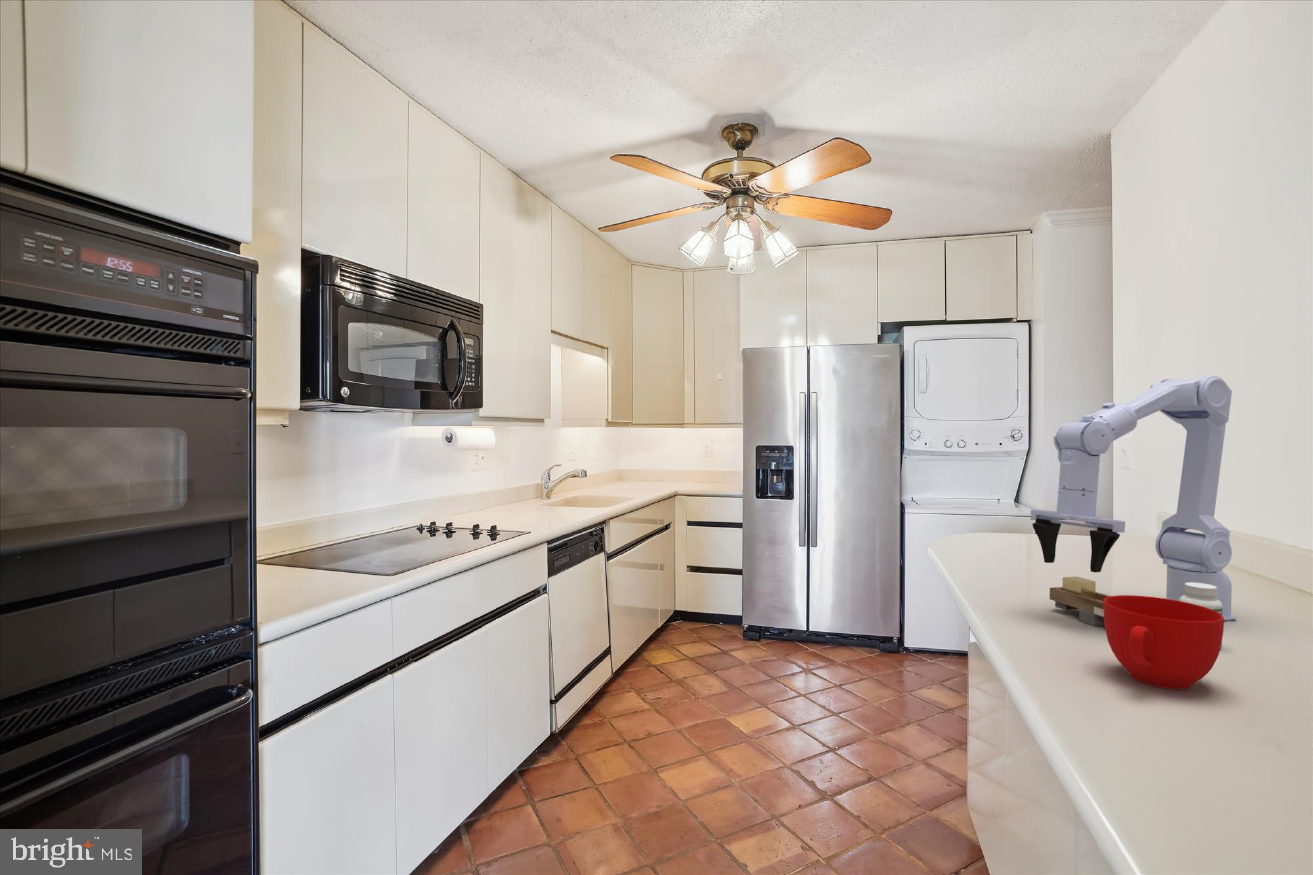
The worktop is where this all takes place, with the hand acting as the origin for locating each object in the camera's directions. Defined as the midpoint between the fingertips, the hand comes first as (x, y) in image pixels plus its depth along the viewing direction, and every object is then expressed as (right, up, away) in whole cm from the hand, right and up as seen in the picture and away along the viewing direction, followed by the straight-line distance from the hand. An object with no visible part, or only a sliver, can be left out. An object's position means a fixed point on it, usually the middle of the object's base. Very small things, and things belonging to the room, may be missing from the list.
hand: (1071, 567), depth 112 cm
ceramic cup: (-6, -11, -26) cm, 28 cm away
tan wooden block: (+6, -7, +7) cm, 11 cm away
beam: (+7, -10, +2) cm, 12 cm away
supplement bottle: (+14, -11, -10) cm, 20 cm away
